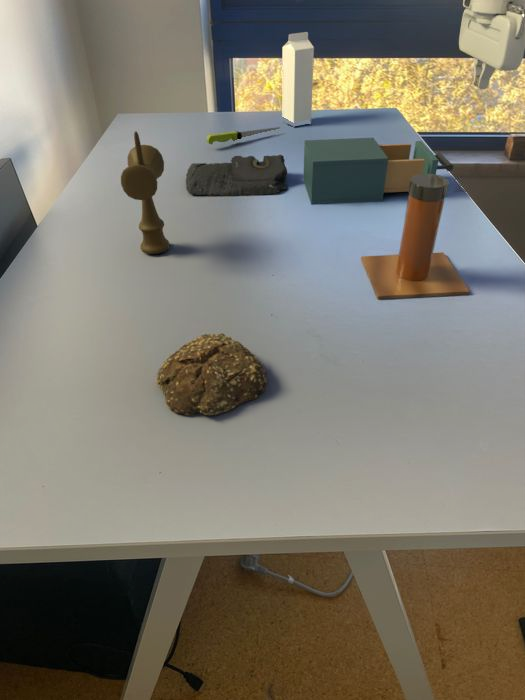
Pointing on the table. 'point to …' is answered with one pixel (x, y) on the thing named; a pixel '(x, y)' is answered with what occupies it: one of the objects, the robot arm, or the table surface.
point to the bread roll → (210, 376)
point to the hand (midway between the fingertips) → (479, 87)
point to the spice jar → (421, 225)
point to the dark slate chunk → (238, 177)
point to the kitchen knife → (234, 135)
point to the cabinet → (344, 170)
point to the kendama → (146, 193)
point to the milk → (297, 78)
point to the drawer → (410, 164)
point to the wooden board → (392, 286)
